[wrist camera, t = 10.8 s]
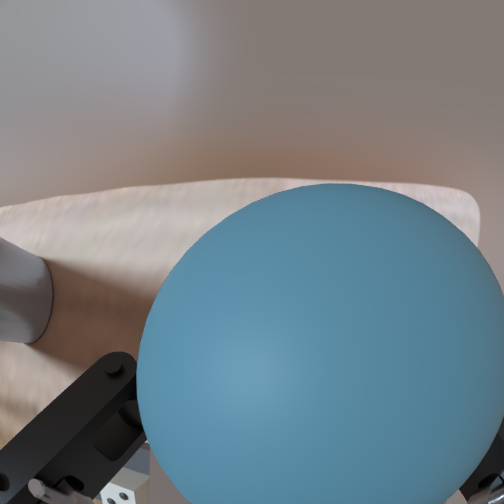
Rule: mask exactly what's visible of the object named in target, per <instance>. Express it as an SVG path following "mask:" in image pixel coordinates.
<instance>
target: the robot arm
mask: <svg viewBox="0 0 504 504" xmlns="http://www.w3.org/2000/svg"><path fill="white" fill-rule="evenodd" d="M52 297H53V292H52V281H51V275H50V273H49V270H48V267H47V266H46V264H45V262H44V261H43V260H42V259H41V258H40V257H38V256H36V255H33V254H31V253H29V252H27V251H25V250H23V249H22V248H20V247H18V246H16V245H14V244H12V243H10V242H8V241H6V240H5V239H3V238H1V237H0V340H2V341H10V342H18V343H32V342H34V341H36V340H37V339H38V338H39V337H40V336H41V334H42V333H43V332H44V330H45V328H46V326H47V323H48V320H49V317H50V313H51V307H52ZM136 372H137V363H136V361H135V359H134V358H133V357H132V356H131V355H130V354H127V353H125V352H112V353H109V354H106V355H104V356H103V357H101V358H100V359H99V360H98V361H97V362H96V363H94V364H93V365H92V366H91V367H90V368H89V369H88V370H87V371H85V372H84V373H83V374H82V375H81V376H80V377H79V378H78V379H77V380H75V381H74V382H73V383H72V384H71V385H70V386H69V387H68V388H67V389H65V390H64V391H63V392H62V393H61V394H60V395H59V396H58V397H57V398H56V399H54V400H53V401H52V402H51V403H50V404H49V405H48V406H47V407H46V408H45V409H44V410H43V411H41V412H40V413H39V414H38V415H37V416H36V417H35V418H34V419H33V420H32V421H31V422H30V423H29V424H27V425H26V426H25V427H24V428H23V429H22V430H21V431H20V432H19V433H18V434H17V435H16V436H15V437H14V438H13V439H12V440H11V441H9V442H8V443H7V444H6V445H5V446H4V447H3V448H2V449H1V450H0V504H94V503H93V501H92V500H93V499H94V498H95V497H96V496H97V495H98V494H99V493H100V492H101V490H102V489H103V488H104V487H105V486H106V485H107V484H108V483H109V482H110V481H111V480H112V478H113V477H114V476H115V475H116V474H117V473H118V472H119V471H120V470H121V468H122V467H123V466H124V465H125V464H126V463H127V462H128V461H129V459H130V458H131V457H132V456H133V455H134V454H135V453H136V451H137V450H138V449H139V448H140V447H141V446H142V445H143V443H144V442H145V441H146V440H147V437H146V434H145V431H144V428H143V425H142V421H141V416H140V411H139V405H138V400H137V375H136ZM459 490H460V491H461V493H462V494H463V496H464V497H465V499H466V501H467V502H468V503H467V504H504V417H503V420H502V422H501V425H500V427H499V430H498V432H497V434H496V436H495V438H494V440H493V442H492V444H491V446H490V448H489V449H488V451H487V453H486V454H485V456H484V457H483V459H482V460H481V462H480V463H479V465H478V466H477V468H476V469H475V470H474V472H473V473H472V474H471V475H470V476H469V478H468V479H467V480H466V481H465V482H464V484H463V485H462V486H461V487H460V488H459ZM149 503H150V504H191V503H190V502H189V501H188V500H187V499H186V498H185V497H184V496H183V495H182V494H181V493H180V492H179V491H178V489H177V488H176V487H175V486H174V484H173V483H172V482H171V480H170V479H169V478H168V476H167V475H166V474H165V472H164V471H163V469H162V468H161V466H160V464H159V462H158V461H157V459H156V457H155V455H154V453H153V451H152V449H151V447H150V468H149ZM442 504H446V501H445V502H444V503H442Z"/></svg>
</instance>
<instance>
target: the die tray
mask: <svg viewBox="0 0 504 504" xmlns="http://www.w3.org/2000/svg"><path fill="white" fill-rule="evenodd" d="M149 468H150V445H149V444H147V443H143V445H142V446H141V447H140V448H139V449H138V450H137V451H136V453H135V454H134V455H133V456H132V457H131V458H130V459H129V461H128V462H127V463H126V464H125V465H124V466H123V467H122V468H121V470H120V471H119V472H118V473H117V474H116V475H115V476H114V477H113V478H112V480H111V481H110V482H109V483H108V484H107V485H106V486H105V487H104V488H103V489H102V490H101V492H100V493H99V494H98V495H97V496H96V497H95V498H96V499H99V500H101V501H102V503H103V504H150V503H149Z"/></svg>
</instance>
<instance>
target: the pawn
mask: <svg viewBox="0 0 504 504" xmlns="http://www.w3.org/2000/svg"><path fill="white" fill-rule="evenodd" d="M136 375H137V400H138V405H139V411H140V416H141V421H142V425H143V428H144V431H145V434H146V437H147V439H148V442H149V445H150V447H151V449H152V451H153V453H154V455H155V457H156V459H157V461H158V462H159V464H160V466H161V468H162V469H163V471H164V472H165V474H166V475H167V476H168V478H169V479H170V480H171V482H172V483H173V484H174V486H175V487H176V488H177V489H178V491H179V492H180V493H181V494H182V495H183V496H184V497H185V498H186V499H187V500H188V501H189V502H190V503H191V504H442V503H444V502H445V501H446V500H447V499H448V498H450V497H451V496H452V495H453V494H454V493H455V492H456V491H457V490H458V489H459V488H460V487H461V486H462V485H463V484H464V482H465V481H466V480H467V479H468V478H469V476H470V475H471V474H472V473H473V472H474V470H475V469H476V468H477V466H478V465H479V463H480V462H481V460H482V459H483V457H484V456H485V454H486V453H487V451H488V449H489V448H490V446H491V444H492V442H493V440H494V438H495V436H496V434H497V432H498V430H499V427H500V425H501V422H502V420H503V417H504V296H503V293H502V290H501V288H500V285H499V283H498V281H497V279H496V277H495V275H494V273H493V271H492V269H491V267H490V265H489V264H488V262H487V261H486V259H485V258H484V257H483V255H482V254H481V252H480V251H479V249H478V248H477V247H476V246H475V245H474V244H473V243H472V242H471V240H470V239H469V238H468V237H467V236H466V235H465V234H464V233H463V232H462V231H460V230H459V229H458V228H457V227H456V226H455V225H453V224H452V223H451V222H450V221H449V220H447V219H446V218H445V217H443V216H442V215H441V214H439V213H438V212H436V211H434V210H433V209H431V208H430V207H428V206H426V205H425V204H423V203H421V202H419V201H416V200H414V199H412V198H410V197H407V196H405V195H403V194H399V193H396V192H393V191H389V190H386V189H382V188H377V187H370V186H363V185H356V184H318V185H310V186H302V187H298V188H294V189H290V190H286V191H282V192H278V193H275V194H273V195H270V196H268V197H265V198H263V199H260V200H258V201H255V202H253V203H251V204H249V205H247V206H246V207H244V208H242V209H240V210H238V211H237V212H235V213H233V214H231V215H230V216H228V217H227V218H225V219H224V220H223V221H221V222H220V223H219V224H217V225H216V226H214V227H213V228H212V229H210V230H209V231H208V232H206V233H205V234H204V235H203V236H202V237H201V238H200V239H199V240H198V241H197V242H196V243H195V244H194V245H193V246H192V247H191V248H190V249H189V250H188V251H187V252H186V253H185V254H184V256H183V257H182V258H181V259H180V261H179V262H178V263H177V264H176V266H175V267H174V268H173V269H172V271H171V272H170V274H169V275H168V277H167V279H166V280H165V282H164V284H163V285H162V287H161V289H160V290H159V292H158V294H157V296H156V298H155V300H154V303H153V305H152V307H151V310H150V312H149V314H148V317H147V320H146V323H145V327H144V331H143V334H142V338H141V342H140V346H139V354H138V363H137V372H136Z"/></svg>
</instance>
